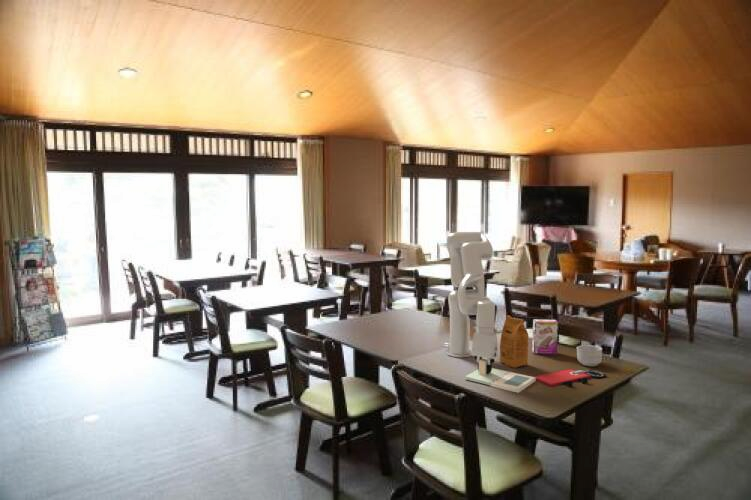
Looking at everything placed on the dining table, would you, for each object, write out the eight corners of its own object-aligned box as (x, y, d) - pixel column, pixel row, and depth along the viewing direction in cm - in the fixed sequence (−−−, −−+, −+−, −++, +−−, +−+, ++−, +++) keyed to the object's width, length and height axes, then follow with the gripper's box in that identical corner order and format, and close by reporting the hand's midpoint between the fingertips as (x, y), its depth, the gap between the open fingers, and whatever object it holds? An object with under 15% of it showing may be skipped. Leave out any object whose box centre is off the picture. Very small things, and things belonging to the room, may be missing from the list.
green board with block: (464, 379, 218) (465, 362, 218) (484, 368, 231) (484, 353, 231) (489, 385, 211) (489, 367, 210) (507, 374, 224) (508, 357, 224)
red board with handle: (611, 378, 220) (583, 368, 233) (611, 371, 219) (583, 362, 233) (557, 391, 207) (531, 380, 220) (557, 384, 207) (531, 373, 220)
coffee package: (513, 358, 247) (514, 313, 245) (530, 366, 235) (531, 318, 233) (495, 361, 243) (496, 315, 241) (512, 369, 232) (513, 320, 229)
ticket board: (490, 386, 211) (490, 382, 211) (508, 375, 224) (508, 371, 224) (518, 392, 203) (518, 388, 203) (535, 381, 217) (535, 377, 216)
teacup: (590, 369, 231) (590, 352, 230) (570, 363, 240) (571, 346, 239) (611, 365, 237) (612, 347, 236) (591, 358, 246) (592, 342, 246)
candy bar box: (533, 354, 253) (534, 321, 252) (531, 351, 258) (532, 319, 257) (557, 355, 252) (558, 321, 251) (555, 352, 257) (555, 319, 256)
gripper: (463, 328, 222) (463, 370, 224) (499, 334, 212) (498, 378, 214) (472, 325, 228) (471, 366, 230) (507, 331, 218) (506, 373, 220)
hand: (484, 371), depth 222 cm, fingers closed on green board with block, 3 cm apart
